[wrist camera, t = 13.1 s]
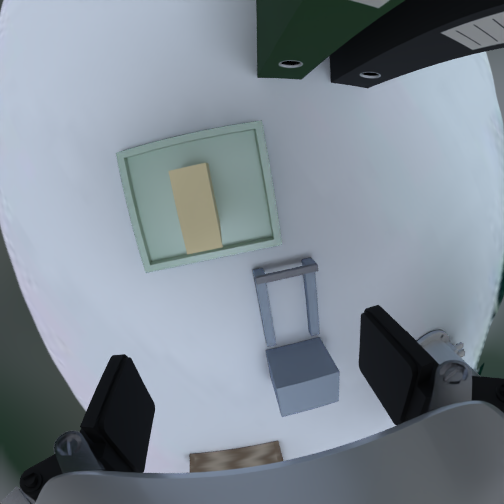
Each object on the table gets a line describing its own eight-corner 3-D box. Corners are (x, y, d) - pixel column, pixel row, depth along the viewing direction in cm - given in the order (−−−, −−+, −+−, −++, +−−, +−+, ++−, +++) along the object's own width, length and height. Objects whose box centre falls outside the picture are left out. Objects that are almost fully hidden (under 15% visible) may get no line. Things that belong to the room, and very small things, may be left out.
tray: (259, 122, 30) (261, 120, 28) (278, 240, 34) (282, 244, 32) (121, 153, 28) (116, 153, 27) (148, 267, 33) (145, 273, 31)
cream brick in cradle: (208, 162, 30) (205, 162, 21) (220, 224, 32) (222, 247, 23) (181, 168, 29) (168, 170, 21) (194, 229, 32) (187, 254, 23)
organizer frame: (278, 440, 47) (284, 464, 41) (290, 493, 57) (294, 509, 52) (189, 453, 45) (189, 477, 40) (228, 503, 56) (230, 520, 51)
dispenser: (312, 257, 35) (338, 282, 28) (320, 366, 41) (338, 401, 34) (250, 270, 35) (260, 300, 27) (271, 379, 41) (281, 416, 33)
